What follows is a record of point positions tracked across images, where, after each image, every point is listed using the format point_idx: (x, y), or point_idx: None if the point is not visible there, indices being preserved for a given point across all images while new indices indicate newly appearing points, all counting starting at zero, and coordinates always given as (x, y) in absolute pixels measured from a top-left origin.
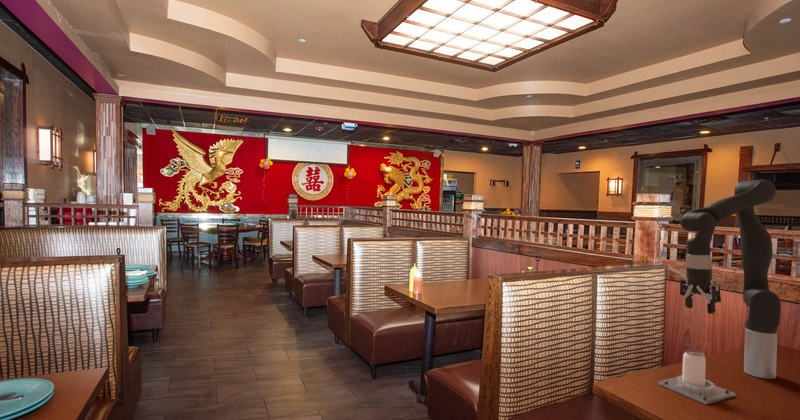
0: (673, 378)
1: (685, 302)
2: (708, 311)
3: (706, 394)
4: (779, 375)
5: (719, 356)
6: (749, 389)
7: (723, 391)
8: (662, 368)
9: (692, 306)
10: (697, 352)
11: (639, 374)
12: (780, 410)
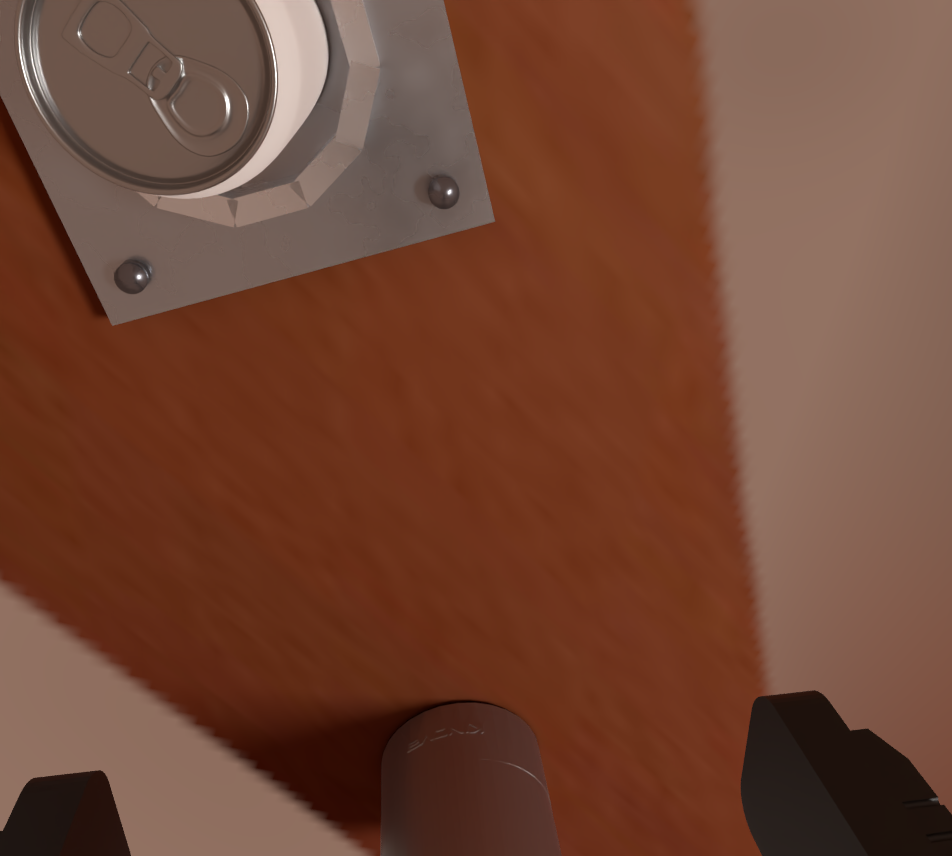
0: (431, 4)
1: (948, 819)
2: (35, 820)
3: None
4: None
5: None
6: (241, 519)
7: (139, 252)
8: (700, 157)
9: (755, 836)
10: (218, 173)
11: None
12: None
